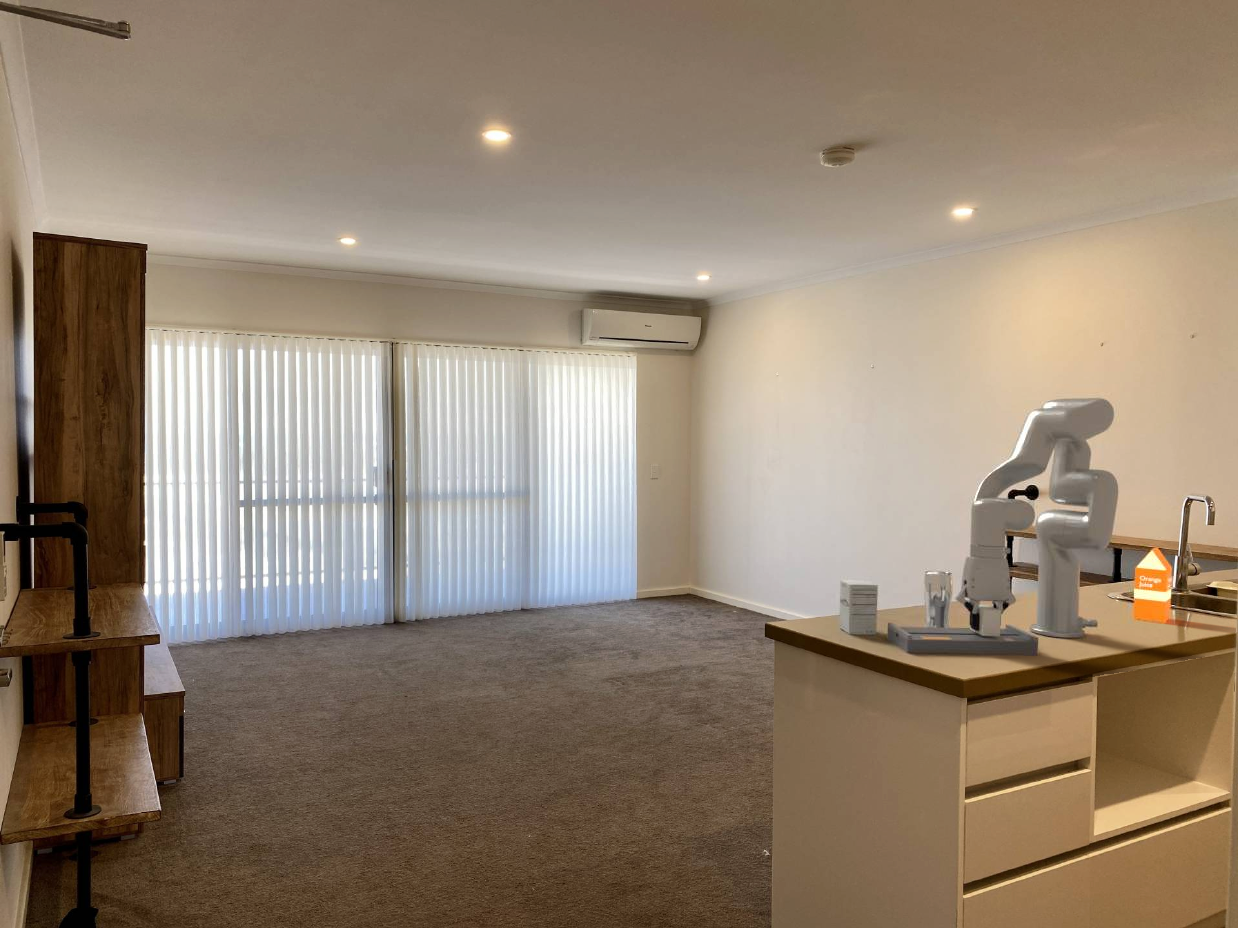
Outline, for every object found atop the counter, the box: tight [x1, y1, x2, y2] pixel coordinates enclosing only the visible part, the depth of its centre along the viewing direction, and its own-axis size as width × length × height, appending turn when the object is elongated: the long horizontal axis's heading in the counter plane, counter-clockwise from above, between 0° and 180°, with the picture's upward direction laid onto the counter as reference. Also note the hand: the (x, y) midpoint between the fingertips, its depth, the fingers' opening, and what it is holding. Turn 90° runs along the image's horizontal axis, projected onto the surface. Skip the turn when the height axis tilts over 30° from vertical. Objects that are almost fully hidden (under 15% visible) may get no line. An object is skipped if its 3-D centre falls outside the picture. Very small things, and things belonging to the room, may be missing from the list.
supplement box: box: [838, 579, 879, 636], centre depth 221 cm, size 7×7×13 cm
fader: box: [969, 604, 1002, 636], centre depth 207 cm, size 4×7×7 cm, turn 1°
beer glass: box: [923, 570, 954, 628], centre depth 224 cm, size 7×7×15 cm
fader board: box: [886, 622, 1039, 656], centre depth 207 cm, size 30×14×4 cm, turn 91°
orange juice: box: [1132, 546, 1173, 624], centre depth 246 cm, size 8×9×20 cm
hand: (984, 628), depth 207 cm, fingers closed on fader, 4 cm apart
